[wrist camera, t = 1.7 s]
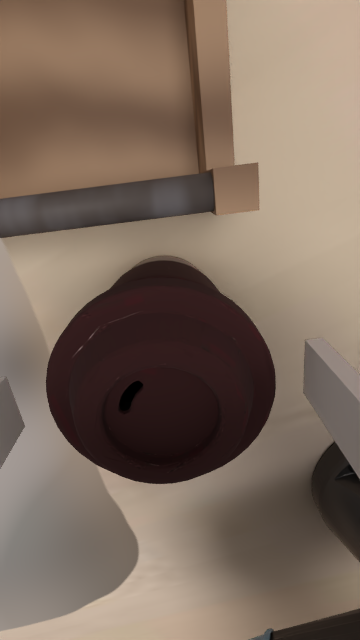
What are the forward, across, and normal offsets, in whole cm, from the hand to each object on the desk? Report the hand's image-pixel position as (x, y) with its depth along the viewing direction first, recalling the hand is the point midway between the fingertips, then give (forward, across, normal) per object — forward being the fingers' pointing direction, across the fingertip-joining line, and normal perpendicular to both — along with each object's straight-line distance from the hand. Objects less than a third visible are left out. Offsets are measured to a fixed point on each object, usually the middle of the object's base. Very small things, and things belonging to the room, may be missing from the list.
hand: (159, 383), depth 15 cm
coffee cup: (+13, 0, 0) cm, 13 cm away
